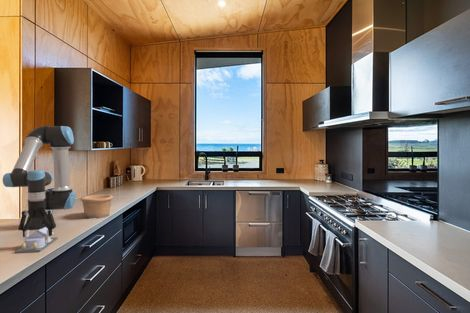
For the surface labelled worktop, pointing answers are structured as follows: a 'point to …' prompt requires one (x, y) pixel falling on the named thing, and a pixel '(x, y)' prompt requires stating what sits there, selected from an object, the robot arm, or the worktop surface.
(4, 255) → the worktop surface
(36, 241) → the wedge on round base
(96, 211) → the pottery
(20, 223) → the robot arm
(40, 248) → the pin plate
